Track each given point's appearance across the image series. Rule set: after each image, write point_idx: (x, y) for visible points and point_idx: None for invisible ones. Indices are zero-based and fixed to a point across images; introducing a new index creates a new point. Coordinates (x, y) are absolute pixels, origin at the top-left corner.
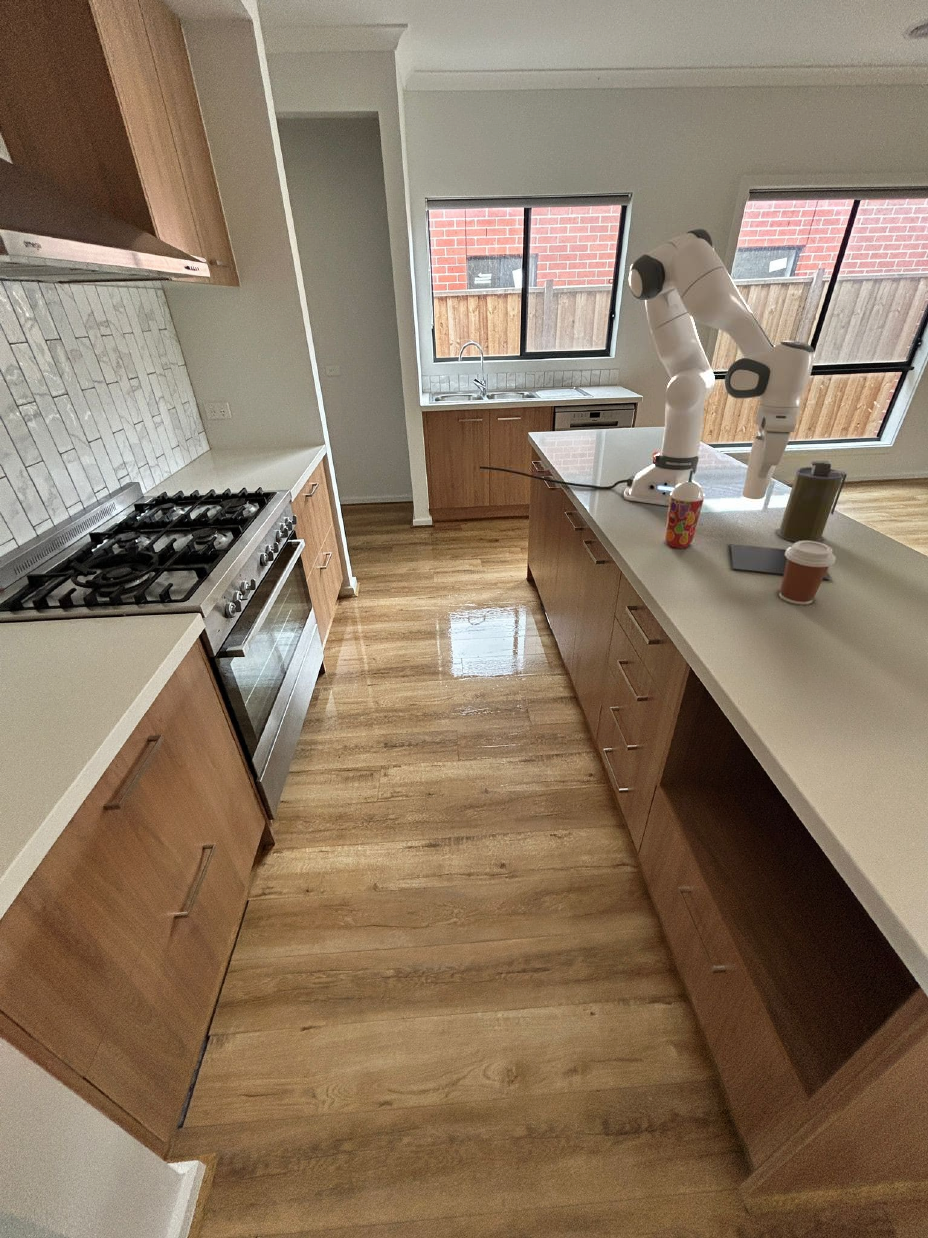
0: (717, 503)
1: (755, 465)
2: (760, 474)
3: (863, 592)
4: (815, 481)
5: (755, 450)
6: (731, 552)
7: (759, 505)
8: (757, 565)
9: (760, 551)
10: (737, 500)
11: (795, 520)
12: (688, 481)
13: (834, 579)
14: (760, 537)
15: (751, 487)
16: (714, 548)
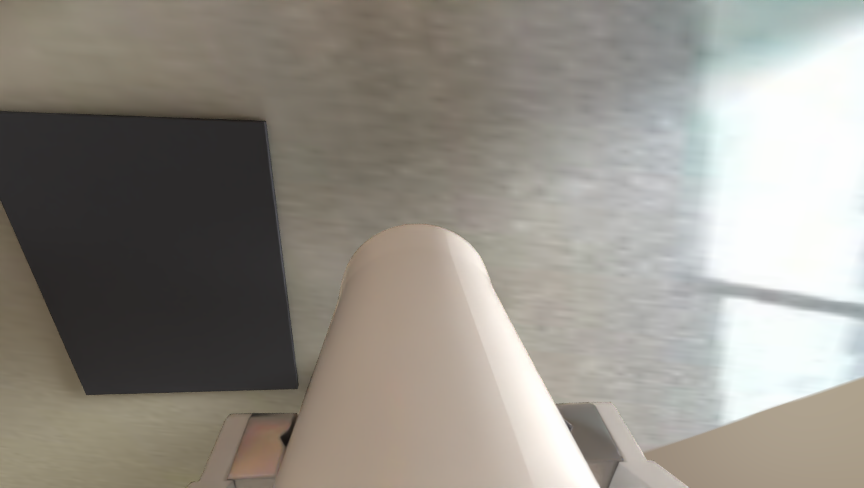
0: (820, 107)
1: (283, 480)
2: (218, 450)
3: (57, 447)
4: None
5: None
6: (158, 118)
7: (757, 274)
8: (66, 211)
9: (228, 235)
10: (836, 199)
11: None
12: None
13: (109, 403)
14: None
15: (338, 301)
16: (197, 41)
